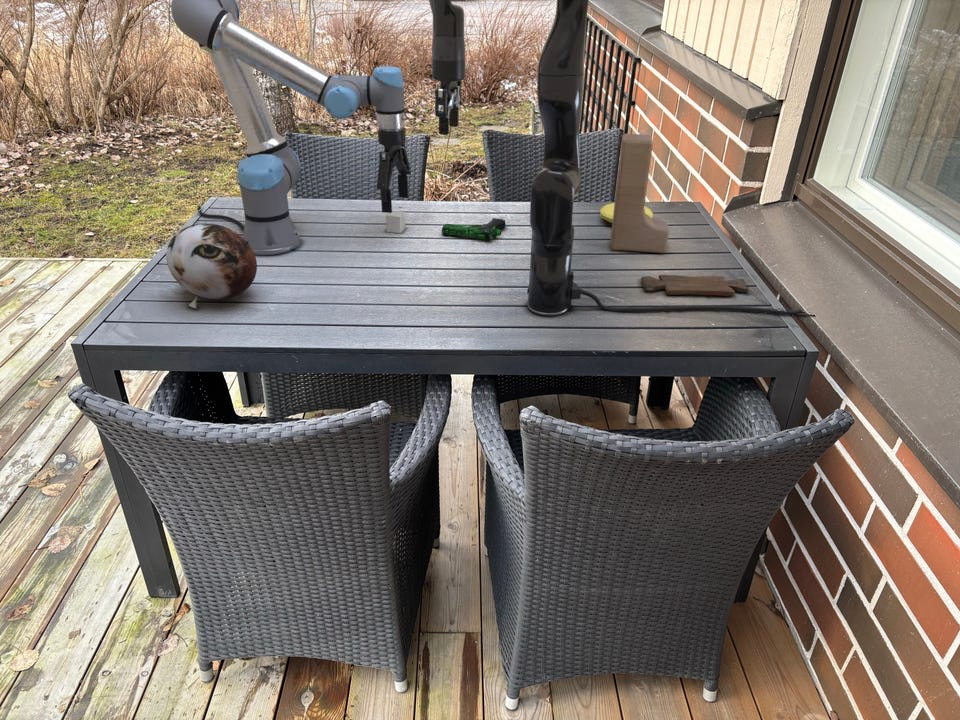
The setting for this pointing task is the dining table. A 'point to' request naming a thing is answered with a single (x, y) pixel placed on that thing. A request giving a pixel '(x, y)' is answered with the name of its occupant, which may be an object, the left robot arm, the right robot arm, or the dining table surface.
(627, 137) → the decorative block
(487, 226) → the handgun
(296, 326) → the dining table surface
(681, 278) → the dark wooden board
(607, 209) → the yellow rounded disc
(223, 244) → the cat face balloon
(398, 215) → the block
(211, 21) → the left robot arm
